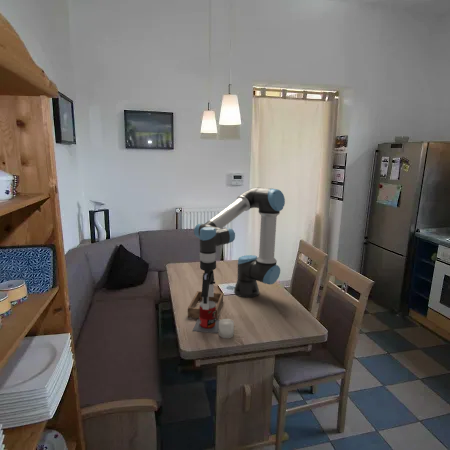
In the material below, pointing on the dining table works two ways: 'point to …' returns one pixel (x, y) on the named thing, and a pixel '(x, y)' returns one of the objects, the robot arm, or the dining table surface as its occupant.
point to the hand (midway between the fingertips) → (208, 302)
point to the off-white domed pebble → (226, 328)
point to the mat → (200, 329)
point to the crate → (194, 311)
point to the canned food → (208, 315)
